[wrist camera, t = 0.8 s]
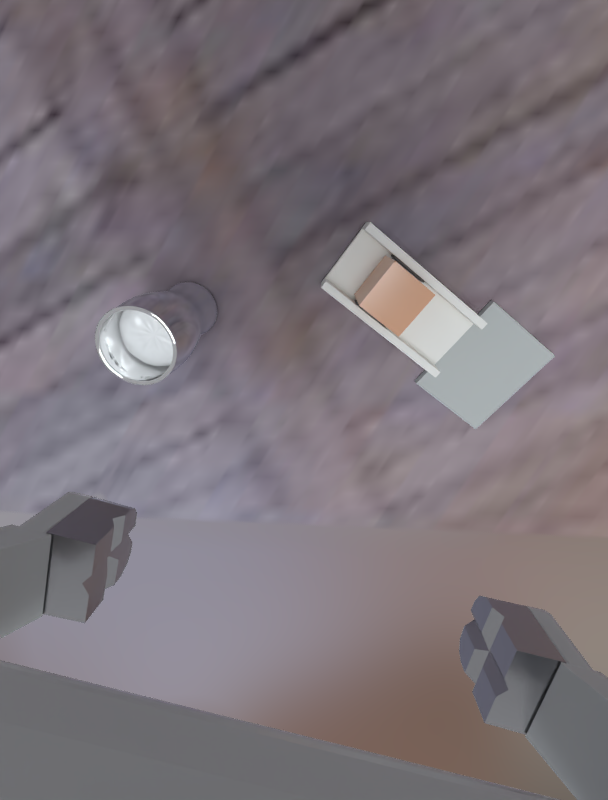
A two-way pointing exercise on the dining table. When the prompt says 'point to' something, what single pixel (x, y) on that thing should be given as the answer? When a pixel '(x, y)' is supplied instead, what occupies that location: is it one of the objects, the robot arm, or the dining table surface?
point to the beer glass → (154, 332)
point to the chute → (431, 326)
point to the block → (393, 295)
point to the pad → (485, 366)
